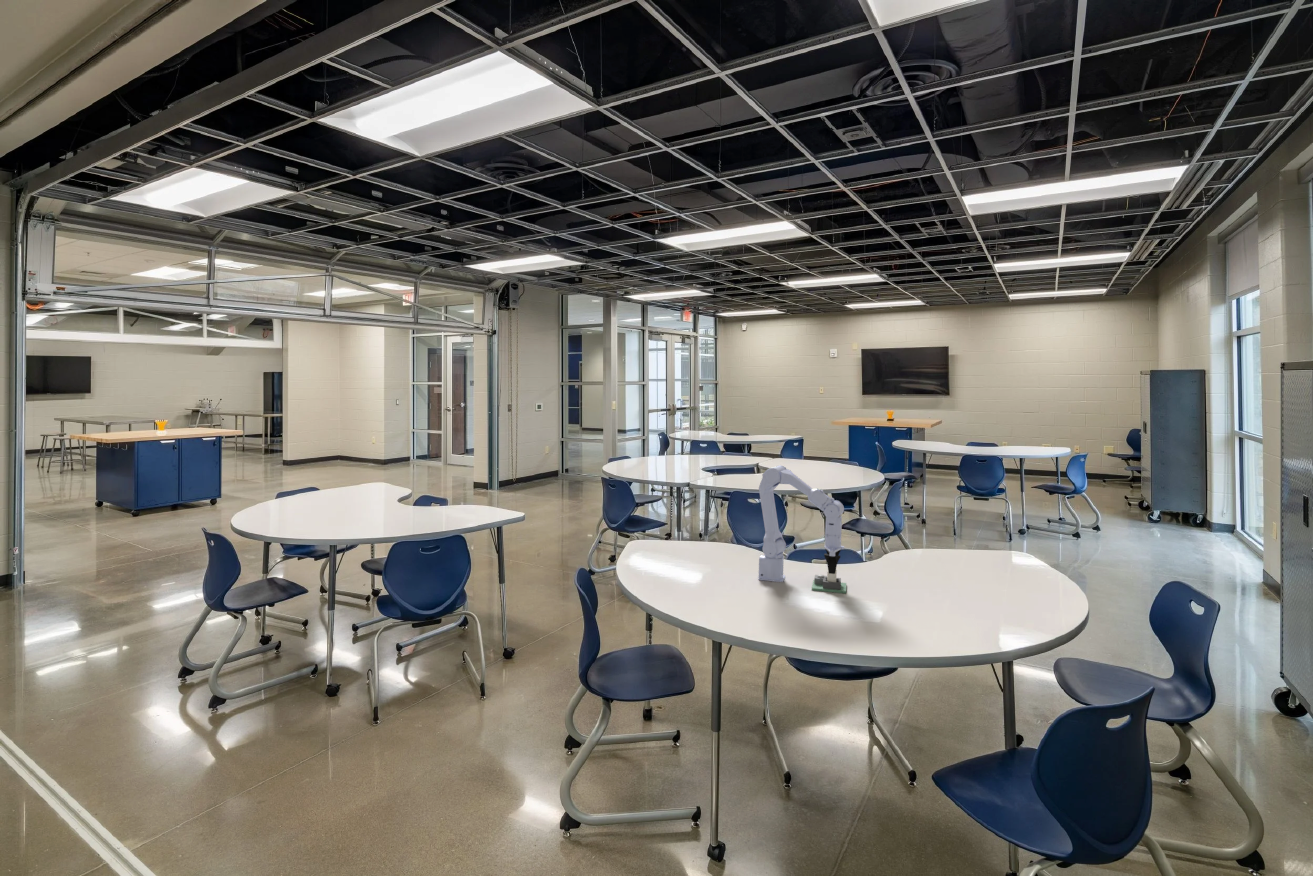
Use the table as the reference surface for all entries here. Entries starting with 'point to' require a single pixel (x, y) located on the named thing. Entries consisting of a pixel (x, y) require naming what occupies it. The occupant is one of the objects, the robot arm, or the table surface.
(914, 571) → the table surface
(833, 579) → the plug
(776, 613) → the table surface
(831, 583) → the board
